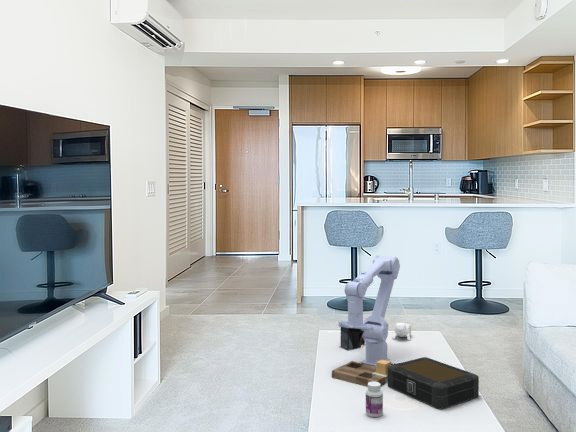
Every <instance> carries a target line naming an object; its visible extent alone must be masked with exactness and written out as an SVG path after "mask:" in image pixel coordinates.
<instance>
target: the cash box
mask: <svg viewBox="0 0 576 432" xmlns="http://www.w3.org/2000/svg"><path fill="white" fill-rule="evenodd" d="M479 379H480V377H479V375H477V374H475V373H473V372H471V371H467V370H464V369H461V368H458V367H455V366H452V365H450V364H447V363H443V362H441V361H438V360H435V359H432V358H429V357H426V356H424V357H419V358H414V359H411V360H407V361H403V362H402V361H401V362H398V363H395V364H391V365H390V366H389V367H388V382H387V386H388V388H390V389H393V390H394V391H397V392H399V393H401V394H404V395H406V396H408V397H411V398H412V399H415V400H417V401H419V402H422V403H424V404H426V405H428V406H431V407H433V408H436V409H439V410H443V409H446V408H451V407H453V406H456V405H458V404H459V405H460V404H462V403H465V402H467V401H468V402H469V401H471V400H474V399H477V398H478V397H479V396H480V395H479V388H480V387H479V385H480V380H479Z"/></svg>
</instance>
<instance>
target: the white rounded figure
mask: <svg viewBox="0 0 576 432" xmlns="http://www.w3.org/2000/svg"><path fill="white" fill-rule="evenodd" d="M411 336H412V324H409V323H407V322H396V323H395V324H394V333H393V335H392V336H391V340H395V339H396V338H397V337H399V338H406V337H407V338H406V339H407V341H411V340H412V339H411Z"/></svg>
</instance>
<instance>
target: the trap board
mask: <svg viewBox="0 0 576 432" xmlns="http://www.w3.org/2000/svg"><path fill="white" fill-rule="evenodd" d="M331 378H333V379H337V380H341V381H345V382H349V383H352V384H355V385H360V386H363V387H367V388H368V383H369V382H379V383H380V384H381V387H382V386H384V385H386V384H388V374H387V375H383V374H379V373H376V366H374V365H369V364H365V363H361V362H357V361H353V360H352V361H350V362H347V363H345V364H343V365H341V366H339V367H336V368H335V369H333V370H331Z"/></svg>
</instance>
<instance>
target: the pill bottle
mask: <svg viewBox="0 0 576 432" xmlns="http://www.w3.org/2000/svg"><path fill="white" fill-rule="evenodd" d="M381 387H382V386H381V384H380V383H379V382H369V383H368V387H367V389H366V390H365V413H366V415H367V416H368V417H371V418H379V417H381V416H383V414H384V407H383V406H384V404H383V403H384V393H383V390H382V389H381Z"/></svg>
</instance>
